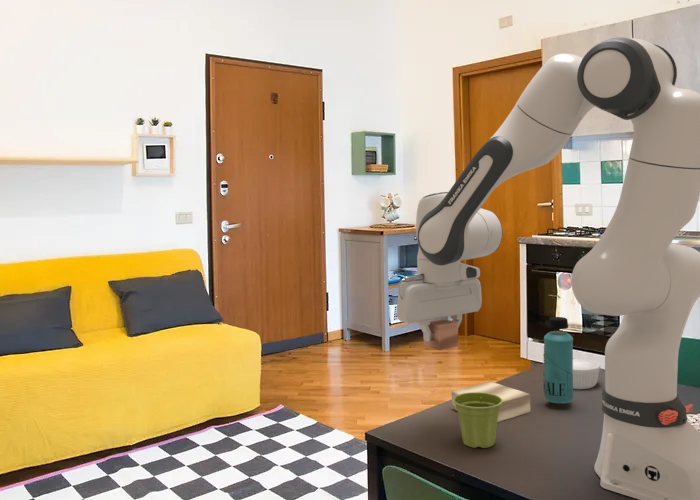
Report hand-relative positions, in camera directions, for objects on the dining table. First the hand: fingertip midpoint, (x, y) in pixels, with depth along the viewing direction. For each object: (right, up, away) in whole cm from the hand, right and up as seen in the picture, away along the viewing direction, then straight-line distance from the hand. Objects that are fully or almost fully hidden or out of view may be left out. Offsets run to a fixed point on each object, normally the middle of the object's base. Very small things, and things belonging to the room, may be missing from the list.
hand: (441, 338), depth 134 cm
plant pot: (+6, -19, -8) cm, 22 cm away
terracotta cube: (0, -2, 0) cm, 2 cm away
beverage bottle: (+28, -17, +11) cm, 34 cm away
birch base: (+12, -17, +9) cm, 23 cm away
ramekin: (+37, -15, +26) cm, 48 cm away
